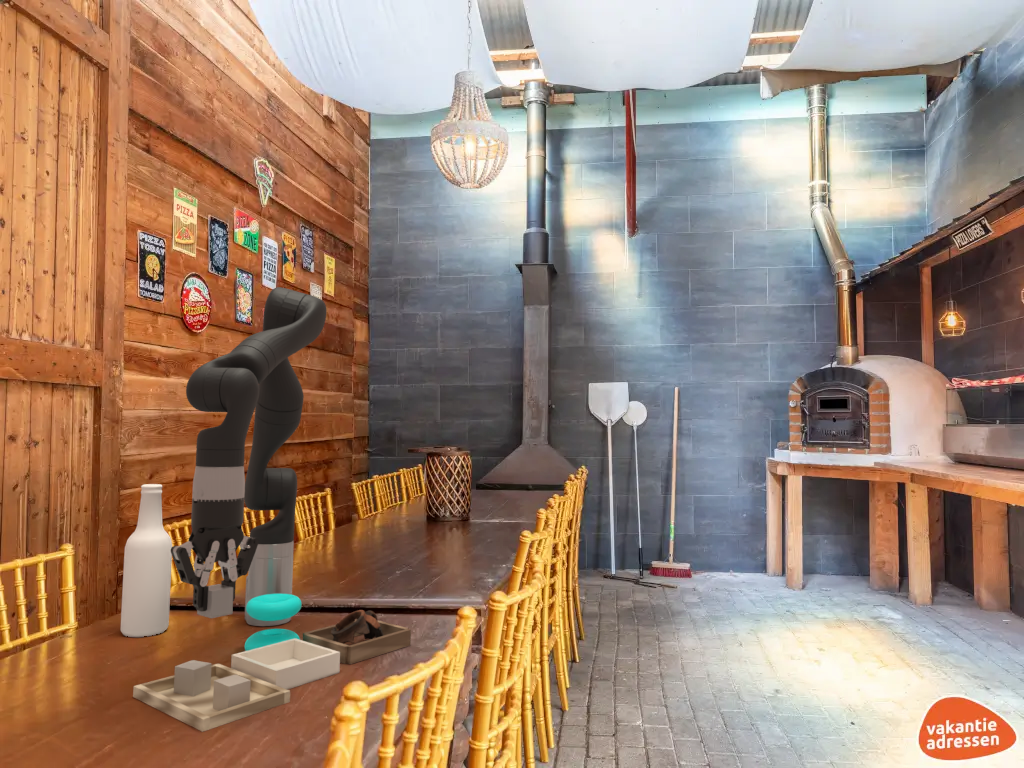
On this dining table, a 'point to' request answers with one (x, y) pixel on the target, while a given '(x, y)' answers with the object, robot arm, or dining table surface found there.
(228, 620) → the dining table surface
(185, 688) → the grey stone cube
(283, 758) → the dining table surface
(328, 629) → the frame
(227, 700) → the grey cube near
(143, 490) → the alcohol
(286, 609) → the donuts
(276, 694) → the tray
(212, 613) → the grey cube
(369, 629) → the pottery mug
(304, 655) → the dish
